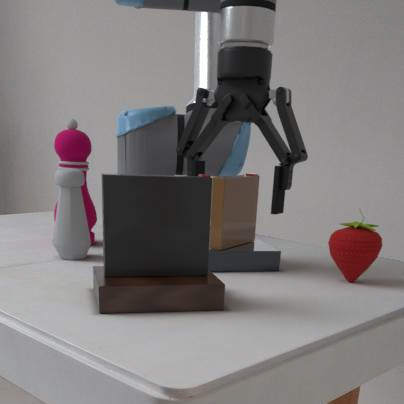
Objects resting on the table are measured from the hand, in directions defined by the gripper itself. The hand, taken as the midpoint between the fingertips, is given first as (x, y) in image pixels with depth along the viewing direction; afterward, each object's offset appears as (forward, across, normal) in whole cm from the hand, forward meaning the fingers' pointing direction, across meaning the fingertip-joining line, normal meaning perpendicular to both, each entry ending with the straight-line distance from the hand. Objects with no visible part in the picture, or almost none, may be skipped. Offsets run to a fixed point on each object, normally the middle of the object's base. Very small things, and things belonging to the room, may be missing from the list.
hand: (235, 209), depth 84 cm
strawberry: (+9, -18, -2) cm, 20 cm away
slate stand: (+8, 0, 0) cm, 8 cm away
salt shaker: (+8, +21, +12) cm, 26 cm away
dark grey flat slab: (+5, -3, +24) cm, 25 cm away
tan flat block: (+5, 0, 0) cm, 5 cm away
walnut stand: (+8, -3, +24) cm, 25 cm away
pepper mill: (+8, +29, +3) cm, 31 cm away
